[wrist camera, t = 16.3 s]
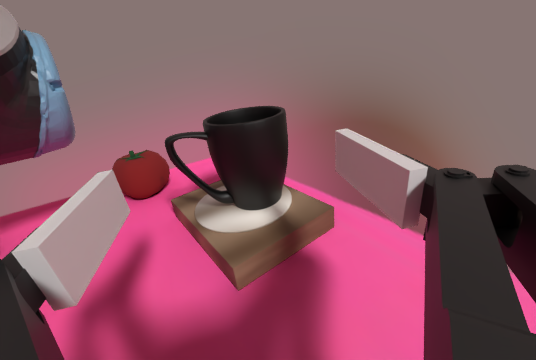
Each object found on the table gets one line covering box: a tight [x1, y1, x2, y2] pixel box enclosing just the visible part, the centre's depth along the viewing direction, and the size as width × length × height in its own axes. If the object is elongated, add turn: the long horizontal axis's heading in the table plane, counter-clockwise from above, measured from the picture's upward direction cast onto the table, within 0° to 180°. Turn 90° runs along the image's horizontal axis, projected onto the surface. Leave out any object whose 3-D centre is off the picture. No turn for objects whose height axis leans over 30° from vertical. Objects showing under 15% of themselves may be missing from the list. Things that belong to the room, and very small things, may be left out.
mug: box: [165, 106, 288, 210], centre depth 26 cm, size 8×12×10 cm
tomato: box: [112, 150, 170, 199], centre depth 40 cm, size 8×8×7 cm
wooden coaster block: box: [171, 180, 334, 291], centre depth 29 cm, size 16×12×3 cm
